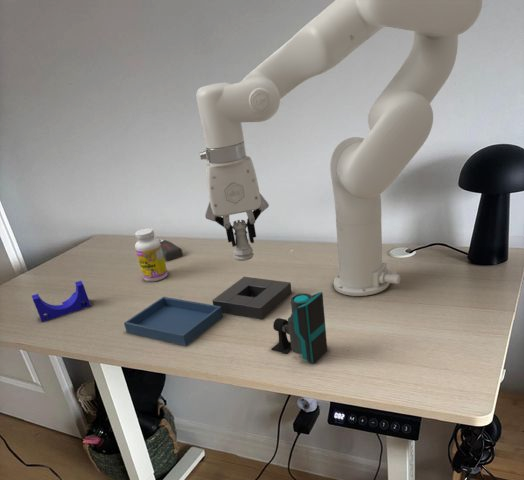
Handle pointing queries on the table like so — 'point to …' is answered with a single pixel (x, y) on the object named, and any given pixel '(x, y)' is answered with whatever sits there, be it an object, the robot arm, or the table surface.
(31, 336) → the table surface
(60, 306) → the blue curved cradle bracket
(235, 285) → the square hole block
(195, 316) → the basin tray
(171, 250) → the usb drive
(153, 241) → the supplement bottle
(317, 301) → the surveillance camera
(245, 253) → the rook chess piece
